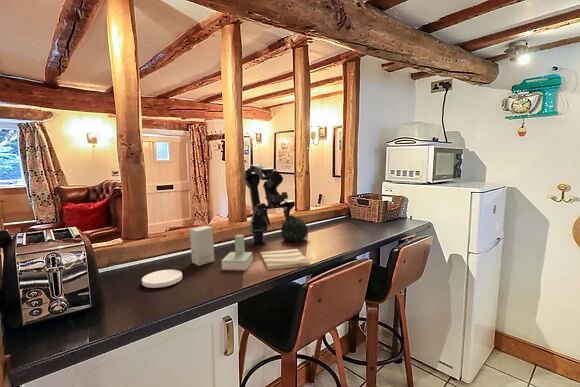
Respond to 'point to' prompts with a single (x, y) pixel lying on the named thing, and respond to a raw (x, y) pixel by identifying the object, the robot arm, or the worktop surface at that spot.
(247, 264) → the tray
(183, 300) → the worktop surface
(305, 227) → the squash
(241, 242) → the sage lid
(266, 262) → the birch board
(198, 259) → the skincare box
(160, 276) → the plastic lid
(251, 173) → the robot arm
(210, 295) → the worktop surface
